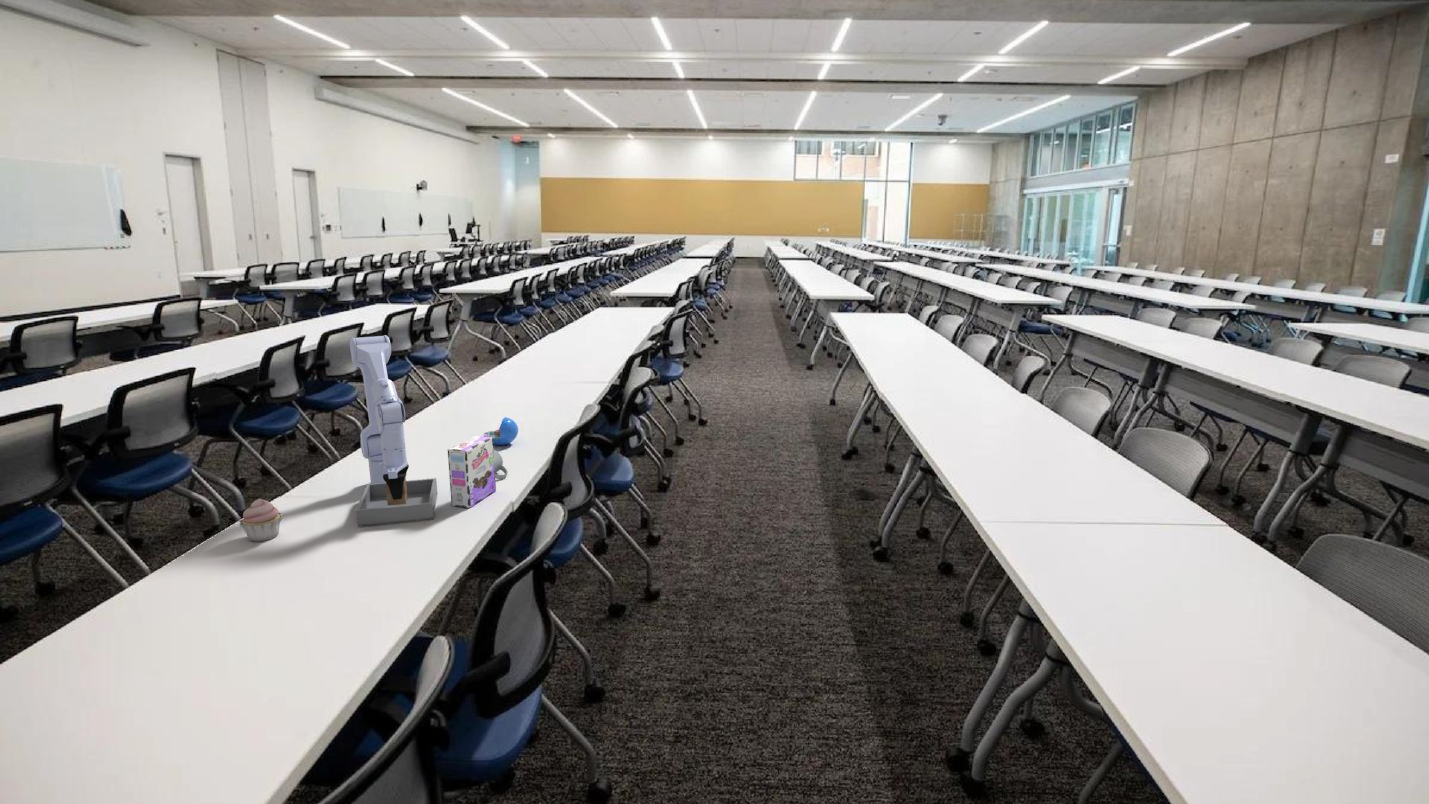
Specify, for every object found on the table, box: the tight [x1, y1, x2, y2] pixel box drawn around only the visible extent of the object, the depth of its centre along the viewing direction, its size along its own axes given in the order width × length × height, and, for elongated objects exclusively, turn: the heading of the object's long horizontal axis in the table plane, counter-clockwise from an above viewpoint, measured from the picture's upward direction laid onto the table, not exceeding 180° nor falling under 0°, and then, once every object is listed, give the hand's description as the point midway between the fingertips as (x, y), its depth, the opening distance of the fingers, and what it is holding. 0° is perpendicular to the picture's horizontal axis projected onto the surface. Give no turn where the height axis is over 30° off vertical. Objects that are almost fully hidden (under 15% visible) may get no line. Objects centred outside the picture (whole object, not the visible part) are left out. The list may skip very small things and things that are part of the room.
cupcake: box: [238, 498, 284, 543], centre depth 182 cm, size 9×9×10 cm
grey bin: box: [355, 477, 438, 528], centre depth 200 cm, size 20×18×4 cm
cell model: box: [483, 416, 519, 446], centre depth 257 cm, size 10×12×10 cm
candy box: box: [447, 435, 497, 509], centre depth 207 cm, size 14×6×16 cm, turn 165°
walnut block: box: [386, 476, 408, 506], centre depth 199 cm, size 4×4×6 cm
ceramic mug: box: [493, 449, 508, 480], centre depth 225 cm, size 11×8×8 cm
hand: (398, 495), depth 200 cm, fingers closed on walnut block, 4 cm apart
